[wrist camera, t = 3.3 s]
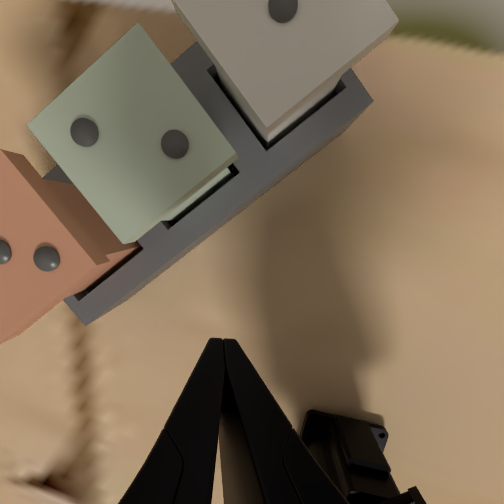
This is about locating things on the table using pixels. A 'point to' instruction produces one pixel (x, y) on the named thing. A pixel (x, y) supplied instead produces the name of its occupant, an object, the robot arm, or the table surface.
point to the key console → (233, 192)
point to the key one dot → (284, 52)
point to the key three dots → (48, 245)
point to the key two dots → (135, 139)
